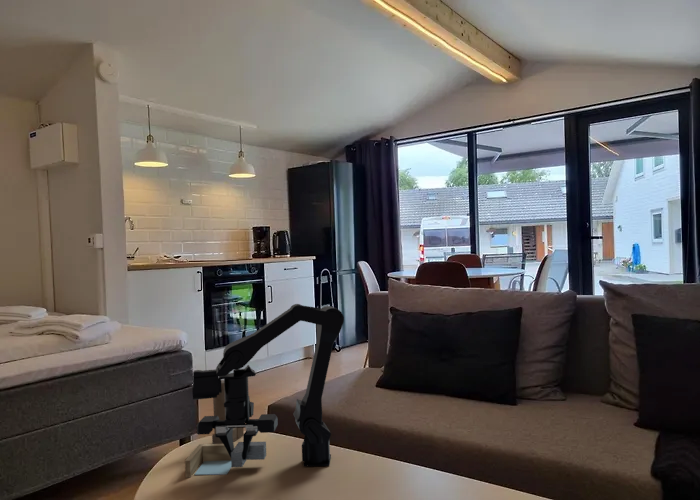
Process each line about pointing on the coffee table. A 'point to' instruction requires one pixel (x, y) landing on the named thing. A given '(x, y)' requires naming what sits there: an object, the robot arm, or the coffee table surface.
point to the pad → (214, 468)
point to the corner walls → (205, 456)
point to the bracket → (254, 453)
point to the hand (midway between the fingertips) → (239, 459)
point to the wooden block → (223, 416)
